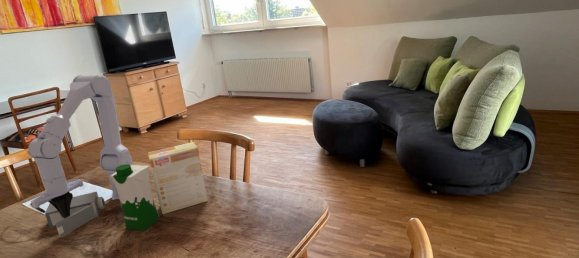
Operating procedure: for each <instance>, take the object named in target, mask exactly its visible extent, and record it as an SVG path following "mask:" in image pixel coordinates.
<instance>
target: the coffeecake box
mask: <svg viewBox="0 0 579 258" xmlns="http://www.w3.org/2000/svg"><path fill="white" fill-rule="evenodd" d="M147 157H148V160H149V165H150V166H149V167H150V169H151V172H152V178H153V182H154V186H155V191H156V195H157V199H158V203H159V206H160V207H159V208H160V211H161V215H165V214H168V213H172V212H175V211H179V210H183V209H185V208H189V207H192V206H195V205H199V204H202V203H206V202H208V201H209V200H208V195H207V190H206V184H205V179H204V175H203V167H202V164H201V163H202V162H201V160H200V159H201V158H200V153H199V149H198V146H197V145H196V144H195V142H194V141H192V142H186V143H183V144H179V145H174V146H170V147H166V148H162V149H158V150H153V151H149V152H147Z"/></svg>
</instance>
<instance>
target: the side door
mask: <svg viewBox="0 0 579 258" xmlns="http://www.w3.org/2000/svg"><path fill="white" fill-rule="evenodd" d="M95 218H96V219H97V218H98V213H97V210H96V206H95V203H94V202H93V203H91V205H89V206H87V207H85V208H83V209H82V210H80V211H78V212H76V213H74V214H72V215H70V216H69V217H67V218H65V219H63V220H61V221H59V222H57V223H56V230H57V233H58V236H59V238H62V237H64V236H66V235H68V234H69V233H71V232H72V231H74V230H76V229H77V228H79V227H82V226H83V225H85V224H86V223H88V222H90V221H92V220H94V219H95Z"/></svg>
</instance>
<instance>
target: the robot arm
mask: <svg viewBox="0 0 579 258" xmlns="http://www.w3.org/2000/svg"><path fill="white" fill-rule="evenodd" d="M88 99H91V100H93V101H95V102H96V104H97V109H98V115H99V122H100V129H101V133H102V140H103V148H102V149H101V150H100V151H99V153H100V159H99V166H100V168H101V169H102V170H103V171H105V173H106V174H107V176H108V179H109V184H110V187H111V192H112V193H111V194H112V195H111V200H112V201H116V200H120V199H119V196H118V192H117V188H116V186H115V184H114V183H113V181H112V179H111V177H110V175H112V174H114V173H115V172H116V168H117V167H118V166H121V165H125V164H129V165H133V158H132V157H133V156H132V155H131V154H130V150H129V149H128V147H126V146H125V145H124V144H123V143H122V138H121V133H120V132H121V131H120V126H119V125H120V124H119V119H118V113H117V107H116V99H115V94H114V92H113V89H112V86H111V80H110V79H109V78H107V77H106V76H104V75H103V74H95V75H94V74H93V75H92V74H91V75H81V74H80V75H76V76H75V77H74V78H73V80H72V82H71V83H70V84H69V91H68V93H67V95H66V97H65V99H64V101H63V103H62V105H61V107H60V109H59V110H58V112H57V114H55V115H50V117H47V119H46V121H45V122H46V124H44V127H43V128H42V129H41V131H40V132H39V133H38V135H37V137H36V138H34V139H32V140H31V141H30V143H29V144H28V148H27V149H28V150H27V151H26V152H27V154H28V156H29V157H31V158H33V160H34V161H35V162H34V163H36V167H37V169H38V171H39V175H40V177H41V181H42V183H43V187H44V190H45V192H44V193H42V194H41V195H39V196H38V197H36V198H34V199H33V200H30V203H31V207H32V208H34V209H39V208H40V206H42V205H44V204H46V203H49V204H52V205H53V206H54V207H55V208H56V209H57V210H58V212H59V213H60V214H61V216H62V218H67V217H69V216H70V205H71V201H72V198H73V197H74V195H73V193H72V192H71V191H73V190H75V189H78V188H80V187H81V188H82V187H83V186H84V182H83V179H80V178H77V179H76V180H74V181H70V182H68V181H67V179H66V175H65V171H64V168H63V165H62V162H61V158H60V155H59V154H61V152H62V143H63V142H62V141H63V139H64V137H65V136H66V134H67V132H68V131H69V129H70V128H71V125H72V124H71V122H70V120H71V118H72V117H73V115H74V114H75V113H76V111H77V109H79V106H80V105H81V104H82V102H83V101H84V100H88Z"/></svg>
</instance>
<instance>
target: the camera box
mask: <svg viewBox="0 0 579 258" xmlns="http://www.w3.org/2000/svg"><path fill="white" fill-rule="evenodd" d="M93 202H94V203H95V206H96V210H97V213H98V217H100V213H101V210H102V209H103V210H104V209H105V206H106V201H105V199H104V197H103V196H99V195H98V192H97V191H93V192H88V193H85V194H84V193H83V194H80V195H76V196H73V198H72V201H71V205H70V215H72V214H74V213H76V212H78V211H80V210H82V209H83V208H85V207H87V206H89V205H91V203H93ZM44 215H45V218H46V221H47V224H48V227H49V229H51V230H52V229H55V228H56V229H57V227H56V223H57V222H59V221H61V220H63V219H65V218H62V216H61V214H60V213H59V212H58V210H57V209H56V208H55V207H54V206H53V205H52V204H50V203H49V205H48V206H47V208H46V211H45V213H44ZM98 217H97V218H98Z"/></svg>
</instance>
